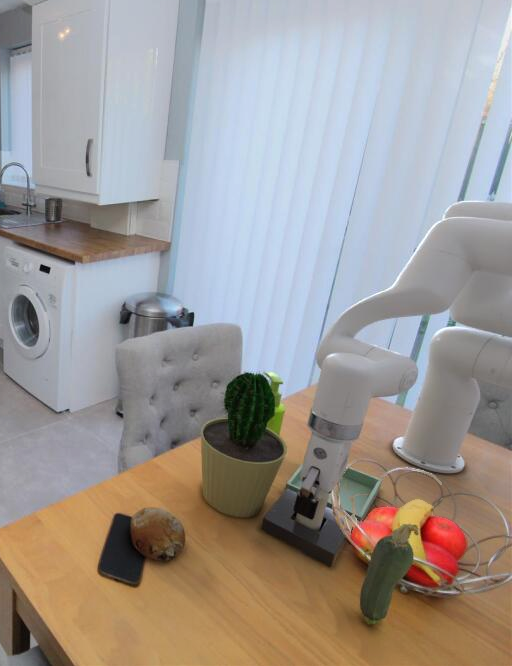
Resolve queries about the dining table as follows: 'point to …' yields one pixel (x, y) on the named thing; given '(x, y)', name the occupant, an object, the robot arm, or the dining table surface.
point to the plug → (319, 514)
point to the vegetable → (386, 572)
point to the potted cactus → (241, 448)
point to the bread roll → (157, 534)
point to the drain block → (304, 530)
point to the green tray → (356, 485)
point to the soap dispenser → (280, 407)
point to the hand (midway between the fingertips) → (312, 501)
